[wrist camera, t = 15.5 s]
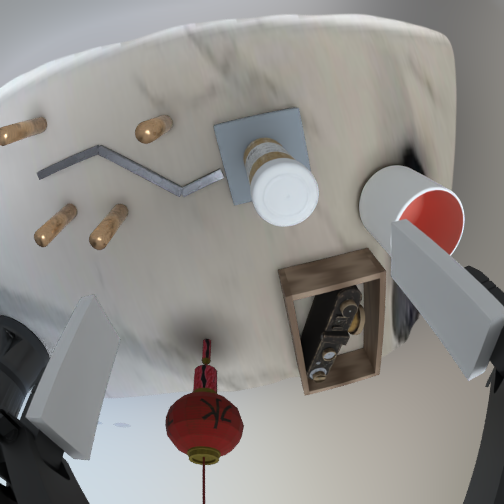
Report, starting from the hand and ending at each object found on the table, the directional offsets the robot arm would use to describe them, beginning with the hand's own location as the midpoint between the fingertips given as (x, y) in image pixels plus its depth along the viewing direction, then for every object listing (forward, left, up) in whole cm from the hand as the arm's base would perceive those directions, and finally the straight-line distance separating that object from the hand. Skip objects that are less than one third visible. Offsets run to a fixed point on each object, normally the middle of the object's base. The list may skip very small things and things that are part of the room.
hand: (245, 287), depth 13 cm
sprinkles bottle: (+3, 0, -23) cm, 23 cm away
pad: (+3, 0, -24) cm, 25 cm away
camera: (+8, -24, -25) cm, 36 cm away
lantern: (-11, -25, -25) cm, 37 cm away
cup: (+18, -9, -25) cm, 32 cm away
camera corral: (+8, -25, -24) cm, 36 cm away
